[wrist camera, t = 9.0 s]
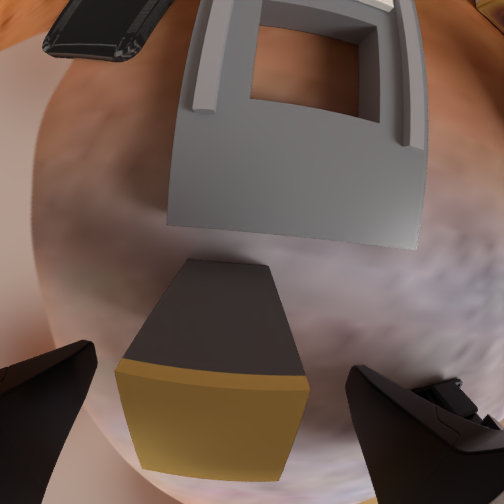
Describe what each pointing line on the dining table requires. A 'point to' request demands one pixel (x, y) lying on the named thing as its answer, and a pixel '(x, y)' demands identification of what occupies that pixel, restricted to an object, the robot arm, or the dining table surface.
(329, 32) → the socket plate
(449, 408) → the robot arm
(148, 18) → the phone
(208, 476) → the plug
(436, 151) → the dining table surface
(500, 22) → the candy box
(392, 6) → the shutter
